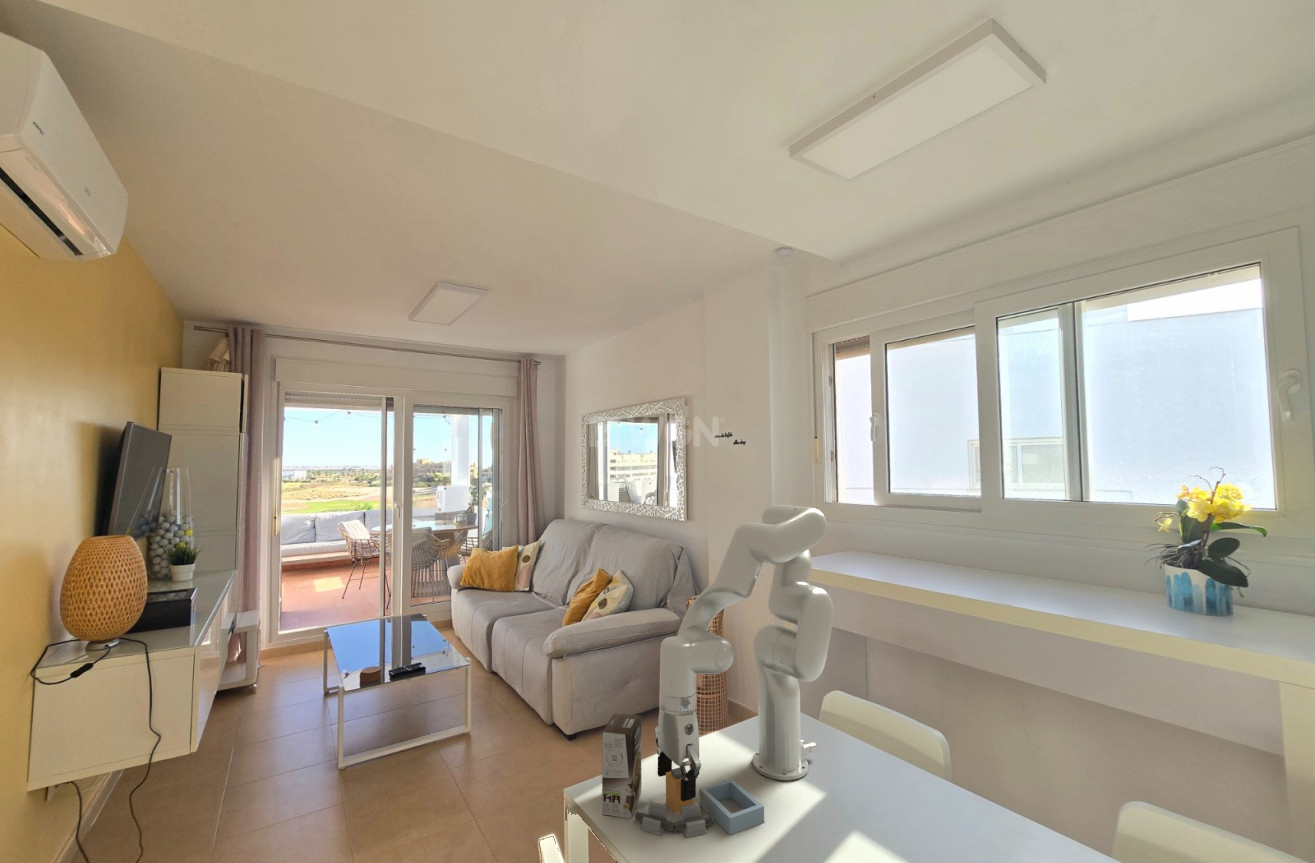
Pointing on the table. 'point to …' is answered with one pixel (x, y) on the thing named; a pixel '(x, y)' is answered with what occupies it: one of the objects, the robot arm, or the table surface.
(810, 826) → the table surface
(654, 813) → the clip
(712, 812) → the frame
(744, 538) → the robot arm
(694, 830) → the clip
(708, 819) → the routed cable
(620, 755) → the coffee box
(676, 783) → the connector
